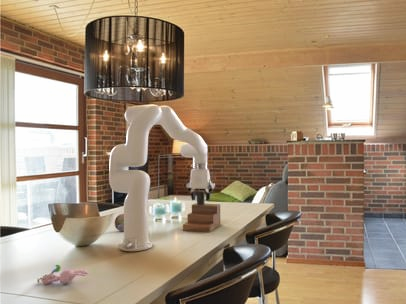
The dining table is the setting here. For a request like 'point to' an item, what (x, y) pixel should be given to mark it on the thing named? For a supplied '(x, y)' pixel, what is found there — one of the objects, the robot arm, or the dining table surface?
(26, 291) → the dining table surface
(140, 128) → the robot arm
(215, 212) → the step rack
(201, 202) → the cylinder
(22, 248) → the dining table surface
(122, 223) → the tin
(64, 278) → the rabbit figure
